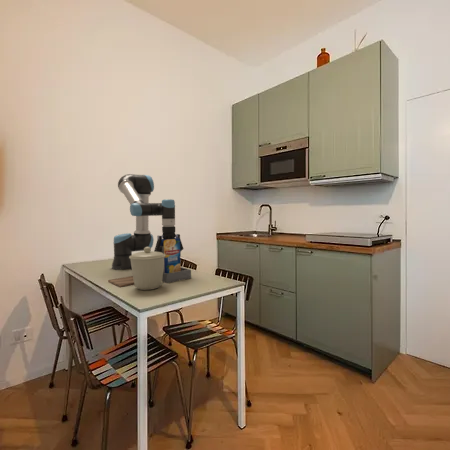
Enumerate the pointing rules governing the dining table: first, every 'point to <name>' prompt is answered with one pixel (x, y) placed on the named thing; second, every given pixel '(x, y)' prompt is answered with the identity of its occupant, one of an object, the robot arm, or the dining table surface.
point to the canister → (147, 269)
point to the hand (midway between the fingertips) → (169, 263)
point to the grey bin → (176, 275)
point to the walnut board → (122, 281)
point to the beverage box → (171, 255)
